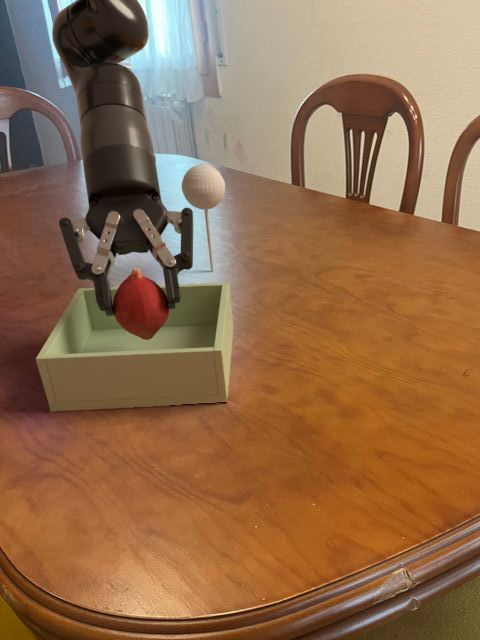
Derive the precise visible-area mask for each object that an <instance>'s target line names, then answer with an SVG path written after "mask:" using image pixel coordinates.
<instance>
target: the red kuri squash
mask: <svg viewBox="0 0 480 640" xmlns="http://www.w3.org/2000/svg"><path fill="white" fill-rule="evenodd" d="M159 285H160V284H158V283H157V282H155V281H154V280H152V279H151V278H150V277H147V276H145V275H143V274H142V273H141V269H139V268H134V269H132V270H131V273H130V274H129V275H128V276H127V277H126V278H125V279H124V280H123V281H122V282H121V283H120V284H119V286H118V287H119V288H118V289H117V292H116V294H115V296H114V298H113V311H114V316H115V318H116V320H117V322H118V323H119V324H120V325H121V326H122V327H123V328H124V329H125V330H126V331H128V332H129V333H131V334H133V335H135V336H138V337H140V338H142V339H143V340H150V339H151V338H153V336H154V335H155V334H156V333H157V332H158V331H159V330H160V328H161V327H162V326H163V325H164V324H165V323H166V321H167V318H168V316H169V306H168V299H167V296H166V294H165V292H164V291H163V290H162V288H161V287H160V286H159Z"/></svg>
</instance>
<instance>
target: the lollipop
mask: <svg viewBox="0 0 480 640" xmlns="http://www.w3.org/2000/svg"><path fill="white" fill-rule="evenodd" d="M181 181H182V182H181V191H182V194H183V196H184V199H185V200H186V201H187V202H188V203H189V204H190V206H192V207H194V208H195V209H199V210H204V217H205V218H204V219H205V226H206V227H205V228H206V236H207V246H208V255H209V264H210V272H212V273H213V272H215V264H214V256H213V255H214V254H213V246H212V237H211V228H210V227H211V226H210V220H209V219H210V218H209V210H211V209H214V208H216V207H217V206H218V205H219V204H220V203H221V202H222V201H223V199H224V196H225V193H226V182H225V179H224V178H223V176H222V174H221V173H220V172H219V171H218V169H216V168H215V167H213V166H211V165H208V164H197V165H193V166H192V167H190V168H189V169H188V170H186V173H185V174H184V176H183V178H182V180H181Z"/></svg>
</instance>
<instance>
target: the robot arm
mask: <svg viewBox="0 0 480 640" xmlns="http://www.w3.org/2000/svg"><path fill="white" fill-rule="evenodd" d="M51 29H52V30H51V36H52V37H51V38H52V42H53V46H54V48H55V51H56V53H57V54H58V56H59V59H60V61H61V63H62V65H63V68H64V69H65V71H66V74H67V76H68V78H69V81H70V83H71V86H72V88H73V90H74V94H75V97H76V102H77V110H78V117H79V118H78V119H79V126H80V150H81V157H82V165H83V172H84V179H85V188H86V195H87V200H88V201H87V203H88V209H87V212H86V214H85V217H84V218H80V219H75V220H71V219H70V218H68V217H62V218H60V219H59V221H58V226H59V228H60V232H61V233H62V234H61V235H62V238H63V241H64V244H65V247H66V250H67V254H68V256H69V259H70V263H71V267H72V268H73V271H74V273H75V274H76V277H77V279H78V280H81V281H85V280H89V281H92V282H93V286H94V287H93V288H95V295H96V302H97V304H98V307H99V308H100V310H101V311H105V313H106V315H107V316H112V315H114V311H113V304H112V297H111V289H110V287H111V283H110V281H109V277H110V273H111V270H112V267H114V266H115V262H116V259H117V258H118V256H125V255H128V254H131V253H138V254H145V253H146V254H147V253H150V254H151V255H152V257H153V259H154V260H155V261H156V262H157V263H158V264H159V266H160V267H161V269H162V273H163V280H164V285H165V286H166V293H167V299H168V306H169V309H175V303H180V299H181V295H180V288H179V284H180V282H179V274H180V273H181V272H182V271H184V270H187V271H188V270H191V269H192V268H193V266H194V213H193V212H194V211H193V210H192V208H190V207H183V208H182V209H181V211H173V210H172V211H170V210H168V209H167V207H166V206H165V205H164V203H163V201H162V194H161V189H160V183H159V176H158V170H157V163H156V162H157V159H156V155H155V152H154V150H155V149H154V145H153V140H152V135H151V134H150V133H151V132H150V130H149V126H148V121H147V116H146V110H145V103H144V96H143V95H144V94H143V90H142V86H141V84H140V81H139V79H138V76H137V75H136V74H135V73H134V72H133V71H132V70H131V69H129V68H128V67H127V66H125V65H122V64H120V63H122V62H123V61H125V60H127V59H129V58H130V57H132V56H135V55H136V54H137V53H139V52H141V51H142V50H143V49H144V48H145V47H146V46H147V43H148V40H149V33H150V32H149V31H150V30H149V23H148V19H147V16H146V13H145V10H144V9H143V7H142V5H141V4H140V2H139V0H74V2H72V3H71V4H69V5H67V6H66V7H64V8H63V9H61V10H60V11H59V12H58V13H57V15H56V16H55V18H54V20H53V24H52V28H51ZM169 224H171V225H172V226H173V230H174V232H176V233H177V234H180V253H177V254H175V255H173V253H172V252H171V251H170V249H169V248H168V246H167V244H166V242H165V240H164V239H163V237H162V235H163V233H164V231H165V230H166V228H167V226H168V225H169ZM88 231H89V232H91V234H93V235H94V237H96V238H97V239H98V240H99V242H98V243H97V247H96V254H95V257H94V260H93V263H90V262H86V260H85V258H84V254H83V251H82V248H81V246H80V245H81V243H83V242H84V241H85V239H86V233H87V232H88Z"/></svg>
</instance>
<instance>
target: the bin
mask: <svg viewBox="0 0 480 640" xmlns="http://www.w3.org/2000/svg"><path fill="white" fill-rule="evenodd" d="M158 285H159V286H160V287H161V288H162V290H163V291H164V292H165V294H166V296H167V293H166V286H165V284H158ZM230 287H231V285H230V282H229V281H228V282H205V283H204V282H203V283H202V282H201V283H179V288H180V295H181V299H180V303H175V309H169V316H168V318H167V321H166V323H165V324H164V325H163V326H162V327H161V328H160V330H159V331H158V332H157V333H156V334H155V335H154V336H153V338H151V339H150V340H143V339H142V338H140V337H138V336H135V335H133V334H131V333H129V332H128V331H126V330H125V329H124V328H123V327H122V326H121V325H120V324H119V323H118V322H117V320H116V318H115V316H114V315H112V316H107V315H106V313H105V311H101V310H100V308H99V307H98V304H97V302H96V295H95V288H94V287H85V288H82V287H81V288H77V290H76V292H75V294H74V295H73V297H72V298H71V299H70V302H69V303H68V305H67V307H66V308H65V309H64V311H63V313H62V314H61V316H60V318H59V320H58V321H57V323H56V325H55V326H54V328H53V330H52V331H51V333H50V335H49V336H48V337H47V339H46V341H45V343H44V344H43V345H42V347H41V349H40V351H39V353H38V354H37V356H36V357H35V361H36V365H37V369H38V373H39V375H40V379H41V382H42V386H43V389H44V393H45V397H46V400H47V404H48V407H49V410H50V412H51V413H52V412H53V413H57V412H73V411H75V412H77V411H94V410H114V409H115V410H116V409H135V407H136V408H154V407H155V406H156V407H171V406H170V405H176V406H183V405H182V404H192V403H200V402H201V403H203V402H217V401H218V402H222V401H227V398H228V399H229V389H228V386H229V387H230V377H229V375H230V376H231V365H232V364H231V363H232V351H233V342H234V341H233V339H234V317H233V307H232V299H231V298H232V297H231V288H230ZM118 288H119V286H110V289H111V297H112V304H113V298H114V296H115V294H116V292H117V289H118ZM230 364H231V365H230ZM156 407H155V408H156Z"/></svg>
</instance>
